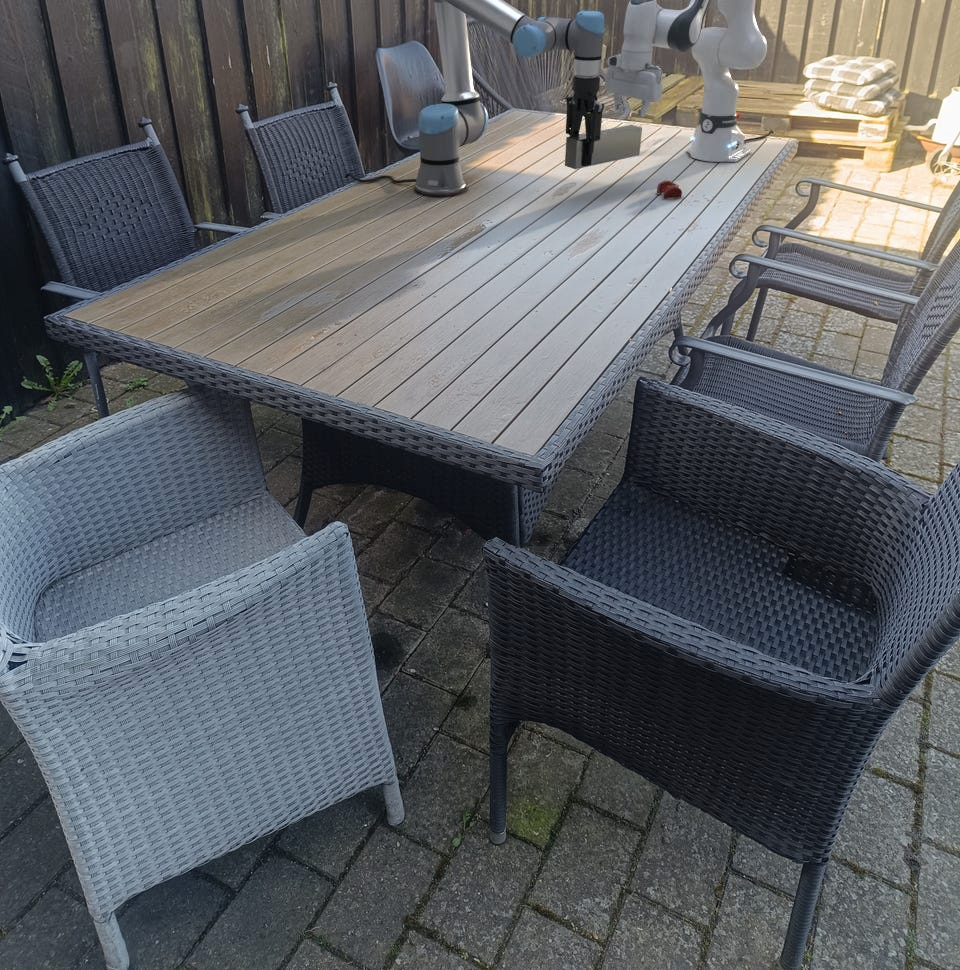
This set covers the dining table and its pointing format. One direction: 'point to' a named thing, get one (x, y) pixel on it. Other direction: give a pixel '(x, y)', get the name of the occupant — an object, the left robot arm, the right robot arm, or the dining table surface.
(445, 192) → the left robot arm
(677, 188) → the dental model
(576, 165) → the bar
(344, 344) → the dining table surface
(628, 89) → the right robot arm
